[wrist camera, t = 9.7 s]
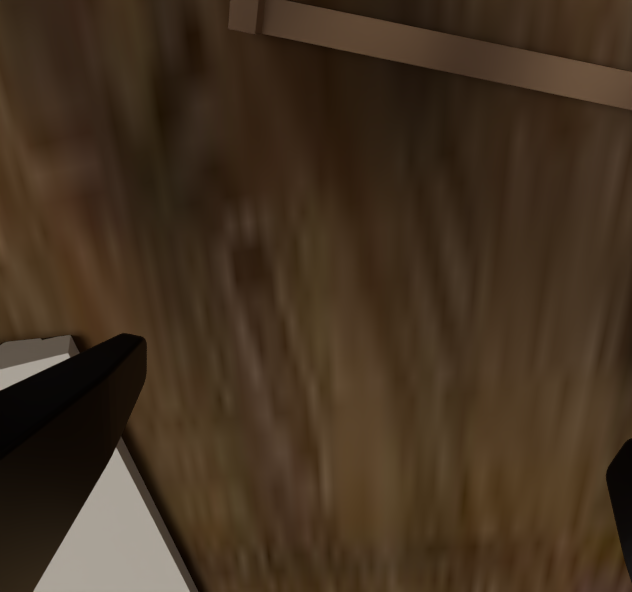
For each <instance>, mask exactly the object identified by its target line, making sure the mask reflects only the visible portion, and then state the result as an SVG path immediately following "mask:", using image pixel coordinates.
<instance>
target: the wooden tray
mask: <svg viewBox="0 0 632 592" xmlns="http://www.w3.org/2000/svg"><path fill="white" fill-rule="evenodd" d="M228 29H231V30H236V31H240V32H245V33H250V34H267V35H271V36H276V37H281V38H286V39H291V40H296V41H300V42H305V43H310V44H315V45H320V46H325V47H329V48H334V49H339V50H344V51H349V52H353V53H358V54H363V55H368V56H373V57H378V58H382V59H387V60H392V61H397V62H402V63H407V64H411V65H416V66H421V67H426V68H431V69H436V70H440V71H445V72H450V73H455V74H460V75H464V76H469V77H474V78H479V79H484V80H489V81H493V82H498V83H503V84H508V85H513V86H518V87H522V88H527V89H532V90H537V91H542V92H547V93H551V94H556V95H561V96H566V97H571V98H575V99H580V100H585V101H590V102H595V103H600V104H604V105H609V106H614V107H619V108H624V109H629V110H632V72H630V71H625V70H620V69H615V68H611V67H606V66H601V65H596V64H591V63H587V62H582V61H577V60H572V59H567V58H562V57H558V56H553V55H548V54H543V53H538V52H533V51H529V50H524V49H519V48H514V47H509V46H505V45H500V44H495V43H490V42H485V41H480V40H476V39H471V38H466V37H461V36H456V35H451V34H447V33H442V32H437V31H432V30H427V29H422V28H418V27H413V26H408V25H403V24H398V23H394V22H389V21H384V20H379V19H374V18H369V17H365V16H360V15H355V14H350V13H345V12H340V11H336V10H331V9H326V8H321V7H316V6H311V5H307V4H302V3H297V2H292V1H287V0H230V11H229V24H228Z"/></svg>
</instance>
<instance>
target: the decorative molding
mask: <svg viewBox="0 0 632 592" xmlns="http://www.w3.org/2000/svg"><path fill="white" fill-rule="evenodd" d="M77 354H79V351H78V349H77V347H76V345H75V343H74V341H73V339H72V337H71V335H67V336H58V337H54V338H49V339H45V340H41V338H38V339H29V340H19V341H10V342H5V343H3V344H1V345H0V390H2V389H4V388H7V387H9V386H11V385H13V384H15V383H17V382H19V381H21V380H24V379H26V378H28V377H30V376H32V375H34V374H36V373H38V372H41V371H43V370H45V369H47V368H49V367H51V366H53V365H55V364H58V363H60V362H62V361H64V360H66V359H68V358H70V357H73V356H75V355H77ZM33 592H198V590H197V588H196V586H195V584H194V582H193V580H192V578H191V576H190V574H189V572H188V570H187V568H186V566H185V564H184V562H183V560H182V558H181V556H180V554H179V552H178V550H177V548H176V546H175V544H174V542H173V540H172V538H171V536H170V534H169V532H168V530H167V528H166V526H165V524H164V522H163V520H162V518H161V516H160V514H159V512H158V510H157V508H156V506H155V504H154V502H153V500H152V498H151V496H150V494H149V492H148V489H147V487H146V485H145V483H144V481H143V479H142V477H141V475H140V473H139V471H138V469H137V467H136V465H135V463H134V461H133V459H132V457H131V455H130V453H129V451H128V449H127V447H126V445H125V443H124V441H123V439H122V437H121V438H120V440H119V442H118V444H117V446H116V449H115V451H114V453H113V455H112V457H111V459H110V461H109V463H108V464H107V466H106V468H105V470H104V471H103V473H102V475H101V477H100V478H99V480H98V482H97V483H96V485H95V487H94V489H93V490H92V492H91V494H90V495H89V497H88V499H87V501H86V502H85V504H84V506H83V507H82V509H81V511H80V513H79V514H78V516H77V518H76V519H75V521H74V523H73V524H72V526H71V528H70V530H69V531H68V533H67V535H66V536H65V538H64V540H63V542H62V543H61V545H60V547H59V548H58V550H57V552H56V554H55V555H54V557H53V559H52V560H51V562H50V564H49V566H48V567H47V569H46V571H45V572H44V574H43V576H42V578H41V579H40V581H39V583H38V584H37V586H36V588H35V589H34V591H33Z"/></svg>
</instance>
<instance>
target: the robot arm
mask: <svg viewBox="0 0 632 592" xmlns="http://www.w3.org/2000/svg"><path fill="white" fill-rule="evenodd" d="M146 372H147V343H146V340H145V339H144V338H143V337H142V336H137V335H132V334H127V333H122V334H119V335H117V336H115V337H113V338H111V339H109V340H107V341H104V342H102V343H100V344H98V345H96V346H94V347H92V348H90V349H87V350H85V351H83V352H81V353H79V354H77V355H75V356H73V357H70V358H68V359H66V360H64V361H62V362H60V363H58V364H55V365H53V366H51V367H49V368H47V369H45V370H43V371H41V372H38V373H36V374H34V375H32V376H30V377H28V378H26V379H24V380H21V381H19V382H17V383H15V384H13V385H11V386H9V387H7V388H4V389H2V390H0V592H33V591H34V589H35V588H36V586H37V584H38V583H39V581H40V579H41V578H42V576H43V574H44V572H45V571H46V569H47V567H48V566H49V564H50V562H51V560H52V559H53V557H54V555H55V554H56V552H57V550H58V548H59V547H60V545H61V543H62V542H63V540H64V538H65V536H66V535H67V533H68V531H69V530H70V528H71V526H72V524H73V523H74V521H75V519H76V518H77V516H78V514H79V513H80V511H81V509H82V507H83V506H84V504H85V502H86V501H87V499H88V497H89V495H90V494H91V492H92V490H93V489H94V487H95V485H96V483H97V482H98V480H99V478H100V477H101V475H102V473H103V471H104V470H105V468H106V466H107V464H108V463H109V461H110V459H111V457H112V455H113V453H114V451H115V449H116V446H117V444H118V442H119V440H120V438H121V435H122V433H123V431H124V428H125V426H126V424H127V422H128V419H129V417H130V415H131V412H132V410H133V408H134V406H135V403H136V401H137V399H138V396H139V394H140V392H141V390H142V387H143V385H144V382H145V379H146ZM606 481H607V486H608V490H609V495H610V499H611V503H612V508H613V512H614V517H615V521H616V526H617V530H618V534H619V539H620V543H621V548H622V552H623V555H624V559H625V563H626V566H627V570H628V573H629V576H630V579H631V582H632V438H631V439H629V440H627V441H626V442H625V443H624V445H623V446H622V448H621V449H620V450H619V452H618V453H617V455H616V456H615V458H614V459H613V461H612V462H611V463H610V465H609V467H608V469H607V473H606Z"/></svg>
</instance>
